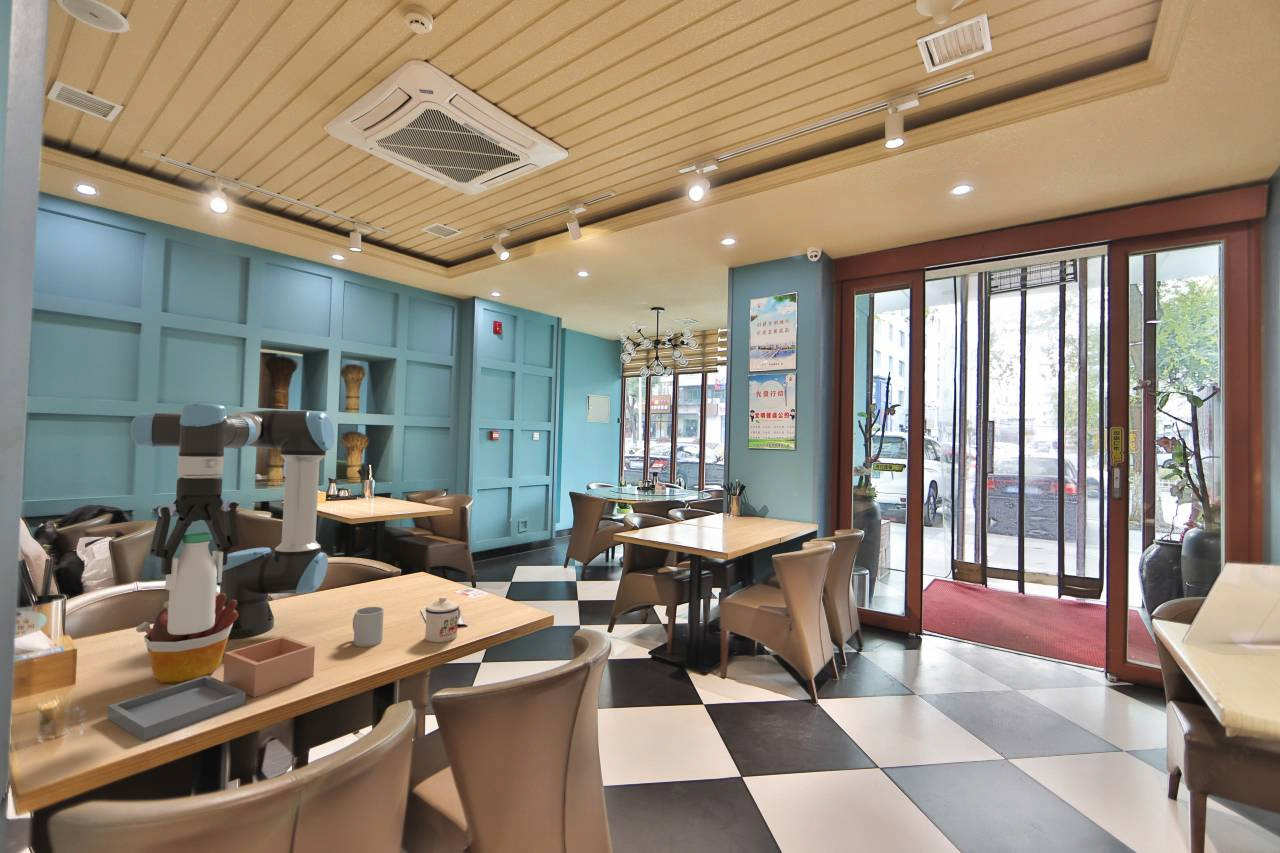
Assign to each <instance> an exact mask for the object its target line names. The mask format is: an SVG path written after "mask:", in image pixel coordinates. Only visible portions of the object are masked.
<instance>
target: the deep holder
mask: <svg viewBox="0 0 1280 853" xmlns="http://www.w3.org/2000/svg"><path fill="white" fill-rule="evenodd" d="M315 649H316V646H314V645H312V644H309V643H305V642H302V641H299V640H296V639H294V638H290V637H288V636H285V635H282V636H280V637H276V638H272V639H268V640H266V641H265V640H264V641H262V642H258V643H255V644H251V645H248V646H244V647H241V648H238V649H233V650H231V651H227V652H224V660H223V662H224V663H223V680H222V682H224V683H227V684H229V685H231V686H233V687H235V688H238V689H240V690H242V691H244V692H246V695H247V696H249V695H250V697H252V698H256V696H257V697H259V696H262V694H263V695H265V694H268V693H270V691H271V692H273V690H274V691H276V690H279V689H282V688H284V686H285V687H287V686H290V685H292V684H291V683H293V684H295V683H294V682H296V683H298V682H300V681H299V680H301V681H303V680H302V679H304V680H306V679H305V678H307V679H309V678H312V677H314V675H315V674H314V672H315ZM297 681H298V682H297ZM289 684H290V685H289ZM286 685H287V686H286ZM281 687H282V688H281ZM278 688H279V689H278ZM275 689H276V690H275Z"/></svg>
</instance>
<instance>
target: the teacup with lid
mask: <svg viewBox="0 0 1280 853" xmlns="http://www.w3.org/2000/svg"><path fill="white" fill-rule="evenodd" d="M438 598H439V599H438V600H435V601H434V602H431V603H429V604H428V605H427V606H426V607H425V610H426V620H425V634H424V635H425V636H424V637H425V640H426V641H427V642H429V643H437V644H438V643H446V642H450V641H452V640H455V639H456V638H457V635H458V624H457V622H458V620H459V618H460V614H461V612H462V611H460V610H461V608H460V607H459V604H458V603H457V602H454V601H451V600H449V599H447V597H446V596H444V595H442V596H439V597H438Z"/></svg>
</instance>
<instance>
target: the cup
mask: <svg viewBox="0 0 1280 853" xmlns="http://www.w3.org/2000/svg"><path fill="white" fill-rule="evenodd" d="M352 630H353V632H354V633H353V645H356V646H355V647H358V646H359V647H358V648H369V646H370V647H374V646H377V645H379V644H381V642H382V641H383V632H384V608H383V607H380V606H367V607H361V608H358V609H356V610H355V611H354V615H353V618H352ZM373 645H374V646H373Z"/></svg>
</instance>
